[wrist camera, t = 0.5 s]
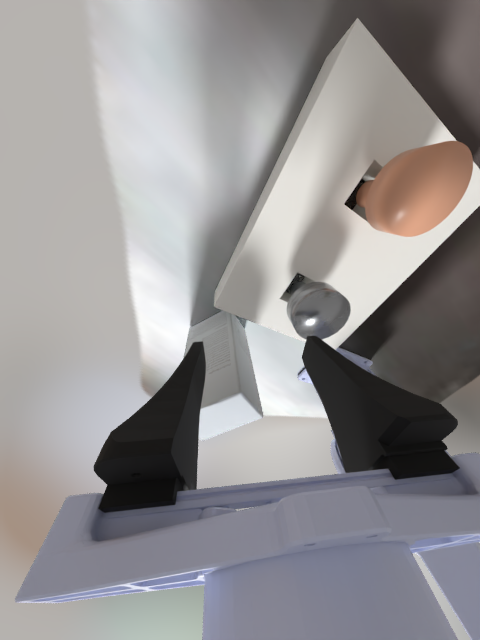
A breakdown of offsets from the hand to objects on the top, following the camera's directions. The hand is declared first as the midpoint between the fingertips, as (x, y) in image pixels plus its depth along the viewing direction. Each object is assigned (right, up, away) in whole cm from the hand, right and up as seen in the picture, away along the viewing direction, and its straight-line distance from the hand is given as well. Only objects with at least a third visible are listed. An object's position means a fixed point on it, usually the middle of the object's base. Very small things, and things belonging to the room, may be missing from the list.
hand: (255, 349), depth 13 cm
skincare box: (-4, +1, +11) cm, 12 cm away
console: (+7, +10, +7) cm, 14 cm away
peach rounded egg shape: (+9, +12, +2) cm, 15 cm away
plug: (+5, +5, +6) cm, 9 cm away
